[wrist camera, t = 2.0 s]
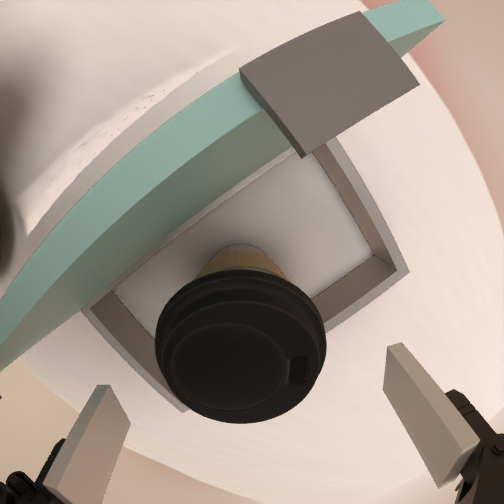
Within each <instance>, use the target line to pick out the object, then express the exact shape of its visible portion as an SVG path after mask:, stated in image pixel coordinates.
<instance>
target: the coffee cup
mask: <svg viewBox="0 0 504 504" xmlns="http://www.w3.org/2000/svg"><path fill="white" fill-rule="evenodd" d="M326 348H327V346H326V335H325V328H324V324H323V320H322V318H321V315H320V313H319V311H318V309H317V308H316V306H315V304H314V303H313V302H312V301H311V299H310V298H309V297H308V296H307V295H306V294H305V293H304V292H303V291H302V290H300V289H299V288H298V287H297V286H295V285H294V284H292V283H290V281H289V280H288V279H287V278H286V276H285V275H284V274H283V273H282V272H281V270H280V269H279V268H278V267H277V266H276V264H275V263H274V262H273V261H272V260H270V259H269V258H268V257H267V256H266V255H265V254H264V253H263V252H262V251H261V250H260V249H258V248H256V247H254V246H251V245H246V244H237V245H231V246H228V247H226V248H224V249H222V250H221V251H219V252H218V253H217V254H216V255H215V257H214V258H213V259H212V260H211V261H210V262H209V263H207V264H206V265H205V267H204V268H203V269H202V271H201V272H200V273H199V275H198V276H197V277H196V279H195V280H194V281H192V282H190V283H188V284H187V285H185V286H184V287H183V288H181V289H180V290H179V291H178V292H177V293H176V294H174V296H173V297H172V298H171V299H170V300H169V301H168V303H167V304H166V305H165V307H164V309H163V311H162V313H161V315H160V317H159V320H158V323H157V327H156V335H155V355H156V360H157V363H158V366H159V369H160V371H161V373H162V375H163V377H164V378H165V380H166V382H167V384H168V386H169V388H170V389H171V391H172V392H173V394H174V395H175V396H176V397H177V398H178V399H179V400H180V401H181V402H182V403H183V404H184V405H185V406H187V407H188V408H190V409H191V410H193V411H194V412H196V413H198V414H200V415H202V416H204V417H207V418H210V419H213V420H216V421H220V422H226V423H236V424H246V423H256V422H261V421H265V420H269V419H272V418H275V417H277V416H280V415H282V414H284V413H286V412H287V411H289V410H291V409H292V408H294V407H295V406H296V405H298V404H299V403H300V402H301V401H302V400H303V399H304V398H305V397H306V396H307V395H308V393H309V392H310V390H311V389H312V387H313V385H314V384H315V381H316V379H317V377H318V375H319V374H320V372H321V369H322V367H323V364H324V361H325V356H326Z"/></svg>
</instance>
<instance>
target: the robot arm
mask: <svg viewBox="0 0 504 504" xmlns="http://www.w3.org/2000/svg"><path fill="white" fill-rule="evenodd" d="M0 256H1V233H0ZM383 391H384V393H385V394H386V396H387V398H388V399H389V401H390V403H391V405H392V406H393V408H394V410H395V411H396V413H397V415H398V417H399V418H400V420H401V422H402V423H403V425H404V427H405V429H406V430H407V432H408V434H409V436H410V438H411V439H412V441H413V443H414V445H415V446H416V448H417V450H418V452H419V454H420V455H421V457H422V459H423V461H424V463H425V465H426V466H427V468H428V470H429V472H430V474H431V476H432V477H433V479H434V481H435V483H436V485H437V487H438V489H439V488H441V487H443V486H445V485H447V484H448V483H451V482H452V481H454V480H455V479H456V478H457V476H458V475H459V474H461V475H462V477H463V479H462V480H461V482H460V483H459V484H458V486H457V487H456V489H455V491H457V490H458V489H459V491H458V494H457V498H456V501H455V504H504V434H502V433H501V434H497V433H495V431H494V430H493V429H492V428H491V427H490V425H489V424H488V423H487V422H486V421H485V419H484V418H483V417H482V416H481V414H480V413H479V412H478V411H477V410H475V407H474V406H473V405H472V404H470V401H469V400H468V399H467V398H466V397H465V395H464V394H462V393H460V392H458V391H456V390H454V389H453V390H451V391H449V392H447V393H444V392H443V391H442V390H441V389H440V387H439V386H438V385H437V384H436V383H435V381H434V380H433V379H432V378H431V376H430V375H429V374H428V373H427V372H426V370H425V369H424V368H423V367H422V366H421V364H420V363H419V362H418V361H417V360H416V359H415V357H414V356H413V355H412V354H411V353H410V351H409V350H408V349H407V348H406V347H405V346H404V344H403V343H402V342H401V343H398V344H394V345H391V346H387V356H386V366H385V376H384V384H383ZM130 424H131V422H130V421H129V419H128V417H127V415H126V414H125V412H124V410H123V408H122V407H121V405H120V403H119V401H118V399H117V397H116V396H115V394H114V392H113V390H112V388H111V386H110V385H97V387H96V388H95V390H94V392H93V393H92V395H91V397H90V398H89V400H88V402H87V403H86V405H85V407H84V408H83V410H82V412H81V414H80V415H79V417H78V419H77V420H76V422H75V424H74V426H73V428H72V429H71V431H70V433H69V435H68V436H67V438H66V439H63V438H62V439H61V440H60V441H59V442H58V443H57V444H56V445H55V446H54V448H53V450H52V452H51V455H49V457H48V461H46V463H45V465H44V466H43V468H42V470H41V472H40V474H39V476H38V478H37V479H36V481H35V483H34V482H33V481H32V480H31V479H30V478H29V477H28V476H27V475H26V474H25V473H24V472H21V471H16V472H13V473H12V474H10V475H9V476H8V478H7V480H6V485H5V484H4V483H2V482H0V504H101V503H102V500H103V497H104V494H105V492H106V489H107V486H108V483H109V480H110V477H111V474H112V472H113V469H114V466H115V464H116V461H117V458H118V455H119V453H120V450H121V447H122V445H123V442H124V440H125V437H126V434H127V432H128V429H129V427H130Z"/></svg>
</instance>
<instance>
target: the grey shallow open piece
mask: <svg viewBox="0 0 504 504" xmlns="http://www.w3.org/2000/svg"><path fill="white" fill-rule="evenodd" d="M295 152H296V151H295V149H294V148H293V146H292V147H291V148H289V149H288V150H286V151H285V152H283V153H282V154H280V155H279V156H277V157H276V158H274V159H273V160H271V161H270V162H268V163H267V164H265V165H264V166H262V167H261V168H259V169H258V170H257V171H255V172H254V173H252V174H251V175H249V176H248V177H247V178H245V179H244V180H242V181H241V182H239V183H238V184H237V185H235V186H234V187H232V188H231V189H230V190H228V191H227V192H226V193H224V194H223V195H221V196H220V197H219V198H217V199H216V200H215V201H213V202H212V203H211V204H209V205H208V206H206V207H205V208H204V209H202V210H201V211H200V212H198V213H197V214H196V215H195V216H193V217H192V218H191V219H189V220H188V221H187V222H185V223H184V224H183V225H181V226H180V227H179V228H178V229H176V230H175V231H174V232H172V233H171V234H170V235H169V236H167V237H166V238H165V239H163V240H162V241H161V242H160V243H158V244H157V245H156V246H155V247H153V248H152V249H151V250H150V251H148V252H147V253H146V254H145V255H144V256H142V257H141V258H140V259H139V260H137V261H136V262H135V263H134V264H133V265H131V266H130V267H129V268H128V269H127V270H125V271H124V272H123V273H122V274H121V275H119V276H118V277H117V278H116V279H115V280H114V281H112V282H111V283H110V284H109V285H108V286H107V287H105V288H104V289H103V290H102V291H101V292H100V293H99V294H97V295H96V296H95V297H94V298H93V299H92V300H91V301H89V302H88V303H87V304H86V305H85V306H84V307H83V308H82V309H81V311H82V313H83V314H84V315H85V316H86V317H87V319H88V320H89V321H90V322H91V323H92V325H93V326H94V327H95V328H96V329H97V330H98V331H99V333H100V334H101V335H102V336H103V337H104V338H105V339H106V340H107V342H108V343H109V344H110V345H111V346H112V347H113V348H114V349H115V350H116V351H117V352H118V353H119V354H120V355H121V357H122V358H123V359H124V360H125V361H126V362H127V363H128V364H129V365H130V366H131V367H132V368H133V369H134V370H135V371H136V372H137V373H138V374H139V375H140V376H141V377H142V378H144V379H145V380H146V381H147V382H148V383H149V384H150V385H151V386H152V387H153V388H154V389H155V390H156V391H157V392H159V393H160V394H161V395H162V396H163V397H164V398H165V399H166V400H168V401H169V402H170V403H171V404H172V405H173V406H174V407H176V408H177V409H178V410H179V411H180V412H182V413H183V412H185V411H187V410H189V409H190V408H188V407H187V406H185V405H184V404H183V403H182V402H181V401H180V400H179V399H178V398H177V397H176V396H175V395H174V394H173V392H172V391H171V389H170V388H169V386H168V384H167V382H166V380H165V378H164V377H163V375H162V373H161V371H160V369H159V366H158V363H157V360H156V355H155V340H154V339H153V338H152V337H151V336H150V334H149V333H148V332H147V331H146V330H145V329H144V328H143V327H142V326H141V324H140V323H139V322H138V321H137V320H136V319H135V318H134V317H133V315H132V314H131V313H130V312H129V311H128V310H127V308H126V307H125V306H124V305H123V304H122V302H121V301H120V300H119V299H118V298H117V296H116V295H115V294H114V293H113V292H112V289H113V288H114V287H115V286H117V285H118V284H119V283H120V282H121V281H123V280H124V279H125V278H126V277H128V276H129V275H130V274H131V273H132V272H134V271H135V270H136V269H137V268H139V267H140V266H141V265H142V264H143V263H145V262H146V261H147V260H148V259H150V258H151V257H152V256H153V255H155V254H156V253H157V252H159V251H160V250H161V249H162V248H164V247H165V246H166V245H167V244H169V243H170V242H171V241H173V240H174V239H175V238H176V237H178V236H179V235H180V234H182V233H183V232H184V231H186V230H187V229H188V228H190V227H191V226H192V225H193V224H195V223H196V222H197V221H199V220H200V219H201V218H203V217H204V216H205V215H207V214H208V213H210V212H211V211H212V210H214V209H215V208H216V207H218V206H219V205H220V204H222V203H223V202H225V201H226V200H227V199H229V198H230V197H231V196H233V195H234V194H236V193H237V192H238V191H240V190H241V189H243V188H244V187H245V186H247V185H248V184H250V183H251V182H253V181H254V180H255V179H257V178H258V177H260V176H261V175H263V174H264V173H265V172H267V171H268V170H270V169H271V168H273V167H274V166H276V165H277V164H279V163H280V162H282V161H283V160H285V159H286V158H288V157H289V156H291V155H292V154H294V153H295ZM312 152H313V154H314V155H315V157H316V158H317V160H318V161H319V163H320V164H321V166H322V167H323V169H324V170H325V172H326V173H327V175H328V177H329V178H330V180H331V181H332V183H333V184H334V186H335V188H336V189H337V191H338V192H339V194H340V196H341V197H342V199H343V201H344V202H345V204H346V206H347V207H348V209H349V211H350V212H351V214H352V216H353V218H354V219H355V221H356V223H357V224H358V226H359V228H360V230H361V231H362V233H363V235H364V237H365V239H366V240H367V242H368V244H369V246H370V248H371V250H372V251H373V253H374V255H373V256H372V257H371V258H369V259H368V260H367V261H365V262H364V263H363V264H361V265H360V266H359V267H357V268H356V269H354V270H353V271H352V272H350V273H349V274H347V275H346V276H345V277H343V278H342V279H340V280H339V281H338V282H336V283H335V284H333V285H332V286H330V287H329V288H328V289H326V290H325V291H323V292H322V293H320V294H319V295H317V296H316V297H314V298H313V299H311V301H312V302H313V303H314V304H315V306H316V308H317V309H318V311H319V313H320V315H321V318H322V320H323V324H324V328H325V333H327V332H329V331H330V330H332V329H333V328H335V327H336V326H338V325H339V324H340V323H342V322H343V321H345V320H346V319H348V318H349V317H351V316H352V315H354V314H355V313H356V312H358V311H359V310H361V309H362V308H363V307H365V306H366V305H368V304H369V303H370V302H372V301H373V300H374V299H376V298H377V297H378V296H380V295H381V294H382V293H384V292H385V291H386V290H388V289H389V288H390V287H392V286H393V285H394V284H396V283H397V282H398V281H399V280H401V279H402V278H403V277H404V276H406V275H407V274H408V273H409V269H408V267H407V265H406V263H405V260H404V258H403V256H402V254H401V252H400V250H399V248H398V246H397V243H396V241H395V239H394V237H393V235H392V233H391V231H390V229H389V227H388V225H387V223H386V221H385V220H384V218H383V216H382V214H381V212H380V210H379V208H378V206H377V205H376V203H375V201H374V199H373V197H372V195H371V194H370V192H369V190H368V188H367V187H366V185H365V183H364V181H363V180H362V178H361V176H360V175H359V173H358V171H357V170H356V168H355V166H354V165H353V163H352V161H351V160H350V158H349V157H348V155H347V153H346V152H345V150H344V149H343V147H342V146H341V144H340V143H339V141H338V139H337V138H336V136H335V137H334V138H332V139H331V140H329V141H328V142H326V143H325V144H323V145H321V146H320V147H318V148H317V149H315V150H314V151H312Z"/></svg>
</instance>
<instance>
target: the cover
mask: <svg viewBox="0 0 504 504" xmlns="http://www.w3.org/2000/svg"><path fill="white" fill-rule="evenodd" d="M444 21H445V19H444V18H443V17H442V16H441V14H440V13H439V12H438V11H437V10H436V8H435V7H434V6H433V5H432V4H431V3H430V2H429V1H428V0H401V1H397V2H394V3H390V4H387V5H384V6H381V7H378V8H375V9H372V10H369V11H366V12H363V13H361V12H360V11H358V12H356V13H353V14H350V15H347V16H345V17H342V18H340V19H337V20H335V21H332V22H330V23H327V24H325V25H323V26H320V27H318V28H316V29H314V30H311V31H309V32H307V33H305V34H303V35H300V36H298V37H296V38H294V39H292V40H290V41H288V42H286V43H284V44H282V45H280V46H278V47H276V48H274V49H273V50H271V51H269V52H267V53H265V54H263V55H262V56H260V57H258V58H256V59H254V60H253V61H251V62H249V63H247V64H246V65H244V66H242V67H241V68H239V71H240V72H238V73H237V74H235V75H233V76H232V77H230V78H228V79H227V80H225V81H224V82H222V83H221V84H219V85H218V86H216V87H215V88H213V89H212V90H210V91H209V92H207V93H206V94H204V95H203V96H201V97H200V98H198V99H197V100H195V101H194V102H193V103H191V104H190V105H188V106H187V107H186V108H184V109H183V110H182V111H180V112H179V113H178V114H176V115H175V116H174V117H172V118H171V119H170V120H168V121H167V122H166V123H164V124H163V125H162V126H161V127H159V128H158V129H157V130H156V131H154V132H153V133H152V134H151V135H149V136H148V137H147V138H146V139H145V140H143V141H142V142H141V143H140V144H139V145H137V146H136V147H135V148H134V149H133V150H132V151H130V152H129V153H128V154H127V155H126V156H125V157H124V158H123V159H121V160H120V161H119V162H118V163H117V164H116V165H115V166H114V167H113V168H112V169H111V170H109V171H108V172H107V173H106V174H105V175H104V176H103V177H102V178H101V179H100V180H99V181H98V182H97V183H96V184H95V185H94V186H93V187H92V188H91V189H90V190H89V191H88V192H87V193H86V194H85V195H84V196H83V197H82V198H81V199H80V200H79V201H78V202H77V203H76V204H75V206H74V207H73V208H72V209H71V210H70V211H69V212H68V213H67V214H66V215H65V216H64V218H63V219H62V220H61V221H60V222H59V223H58V224H57V225H56V227H55V228H54V229H53V230H52V231H51V232H50V234H49V235H48V236H47V237H46V238H45V240H44V241H43V242H42V243H41V245H40V246H39V247H38V248H37V250H36V251H35V252H34V253H33V255H32V256H31V257H30V259H29V260H28V261H27V262H26V264H25V265H24V266H23V268H22V269H21V271H20V272H19V273H18V275H17V276H16V277H15V279H14V280H13V282H12V283H11V285H10V286H9V288H8V289H7V290H6V292H5V293H4V295H3V296H2V298H1V300H0V371H2V370H3V369H4V368H5V367H7V366H8V365H9V364H10V363H12V362H13V361H14V360H15V359H17V358H18V357H19V356H20V355H22V354H23V353H24V352H26V351H27V350H28V349H29V348H31V347H32V346H33V345H34V344H36V343H37V342H38V341H40V340H41V339H42V338H44V337H45V336H46V335H48V334H49V333H50V332H51V331H53V330H54V329H55V328H57V327H58V326H59V325H61V324H62V323H64V322H65V321H66V320H68V319H69V318H70V317H72V316H73V315H74V314H76V313H77V312H78V311H79V310H81V309H82V308H83V307H84V306H85V305H86V304H87V303H88V302H89V301H91V300H92V299H93V298H94V297H95V296H96V295H97V294H99V293H100V292H101V291H102V290H103V289H104V288H105V287H107V286H108V285H109V284H110V283H111V282H112V281H114V280H115V279H116V278H117V277H118V276H119V275H121V274H122V273H123V272H124V271H125V270H127V269H128V268H129V267H130V266H131V265H133V264H134V263H135V262H136V261H137V260H139V259H140V258H141V257H142V256H144V255H145V254H146V253H147V252H148V251H150V250H151V249H152V248H153V247H155V246H156V245H157V244H158V243H160V242H161V241H162V240H163V239H165V238H166V237H167V236H169V235H170V234H171V233H172V232H174V231H175V230H176V229H178V228H179V227H180V226H181V225H183V224H184V223H185V222H187V221H188V220H189V219H191V218H192V217H193V216H195V215H196V214H197V213H198V212H200V211H201V210H202V209H204V208H205V207H206V206H208V205H209V204H211V203H212V202H213V201H215V200H216V199H217V198H219V197H220V196H221V195H223V194H224V193H226V192H227V191H228V190H230V189H231V188H232V187H234V186H235V185H237V184H238V183H239V182H241V181H242V180H244V179H245V178H247V177H248V176H249V175H251V174H252V173H254V172H255V171H257V170H258V169H259V168H261V167H262V166H264V165H265V164H267V163H268V162H270V161H271V160H273V159H274V158H276V157H277V156H279V155H280V154H282V153H283V152H285V151H286V150H288V149H289V148H291V147H292V146H293V148H294V149H295V151H296V152H297V153H298V155H299V156H300V158H301V159H302V158H303V157H305V156H306V155H308V154H309V153H311V152H312V151H314V150H315V149H317V148H318V147H320V146H321V145H323V144H325V143H326V142H328V141H329V140H331V139H332V138H334V137H335V136H337V135H338V134H340V133H342V132H343V131H345V130H346V129H348V128H349V127H351V126H353V125H354V124H356V123H357V122H359V121H361V120H362V119H364V118H366V117H367V116H369V115H370V114H372V113H374V112H375V111H377V110H379V109H380V108H382V107H384V106H385V105H387V104H389V103H390V102H392V101H394V100H395V99H397V98H399V97H400V96H402V95H404V94H405V93H407V92H409V91H410V90H412V89H414V88H415V87H417V86H419V85H420V84H419V82H418V81H417V79H416V78H415V77H414V75H413V74H412V72H411V71H410V70H409V68H408V67H407V66H406V64H405V63H404V62H403V60H402V59H401V57H402V56H404V55H405V54H406V53H407V52H408V51H409V50H410V49H412V48H413V47H414V46H415V45H416V44H418V43H419V42H420V41H421V40H422V39H423V38H425V37H426V36H427V35H428V34H429V33H430V32H432V31H433V30H434V29H435V28H437V27H438V26H439V25H440V24H442V23H443V22H444ZM1 398H2V397H1V396H0V399H1Z"/></svg>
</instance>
